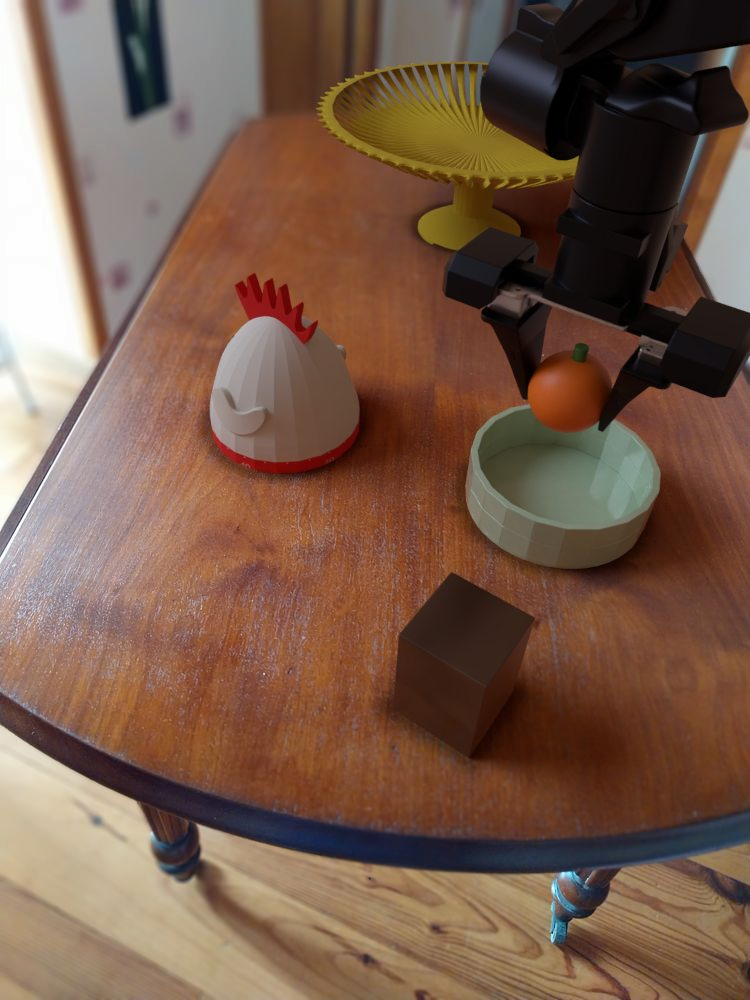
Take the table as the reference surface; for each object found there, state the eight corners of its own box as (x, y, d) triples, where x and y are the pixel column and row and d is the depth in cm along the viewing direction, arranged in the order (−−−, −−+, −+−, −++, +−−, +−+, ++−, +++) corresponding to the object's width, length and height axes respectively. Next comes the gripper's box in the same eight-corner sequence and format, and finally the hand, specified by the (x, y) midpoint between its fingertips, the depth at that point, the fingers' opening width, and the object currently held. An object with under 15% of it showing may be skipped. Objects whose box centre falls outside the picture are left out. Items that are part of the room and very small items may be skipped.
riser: (512, 693, 52) (535, 617, 45) (468, 760, 48) (486, 687, 42) (439, 649, 54) (451, 570, 48) (391, 710, 51) (398, 634, 44)
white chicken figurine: (277, 365, 78) (266, 227, 67) (387, 415, 73) (393, 273, 62) (181, 436, 70) (151, 291, 59) (297, 498, 64) (286, 351, 54)
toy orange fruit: (613, 418, 54) (639, 341, 49) (581, 461, 50) (605, 383, 46) (542, 389, 56) (561, 313, 51) (507, 428, 53) (523, 351, 48)
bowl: (669, 490, 66) (687, 448, 63) (598, 602, 57) (615, 560, 54) (516, 423, 72) (525, 381, 69) (431, 515, 63) (436, 472, 60)
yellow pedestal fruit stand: (326, 165, 114) (324, 55, 104) (589, 172, 115) (614, 63, 104) (309, 305, 86) (303, 174, 75) (657, 314, 87) (701, 185, 76)
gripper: (834, 188, 42) (731, 404, 54) (537, 111, 49) (501, 317, 61) (785, 266, 36) (679, 494, 47) (450, 165, 43) (428, 384, 54)
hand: (564, 412), depth 52 cm, fingers closed on toy orange fruit, 5 cm apart
